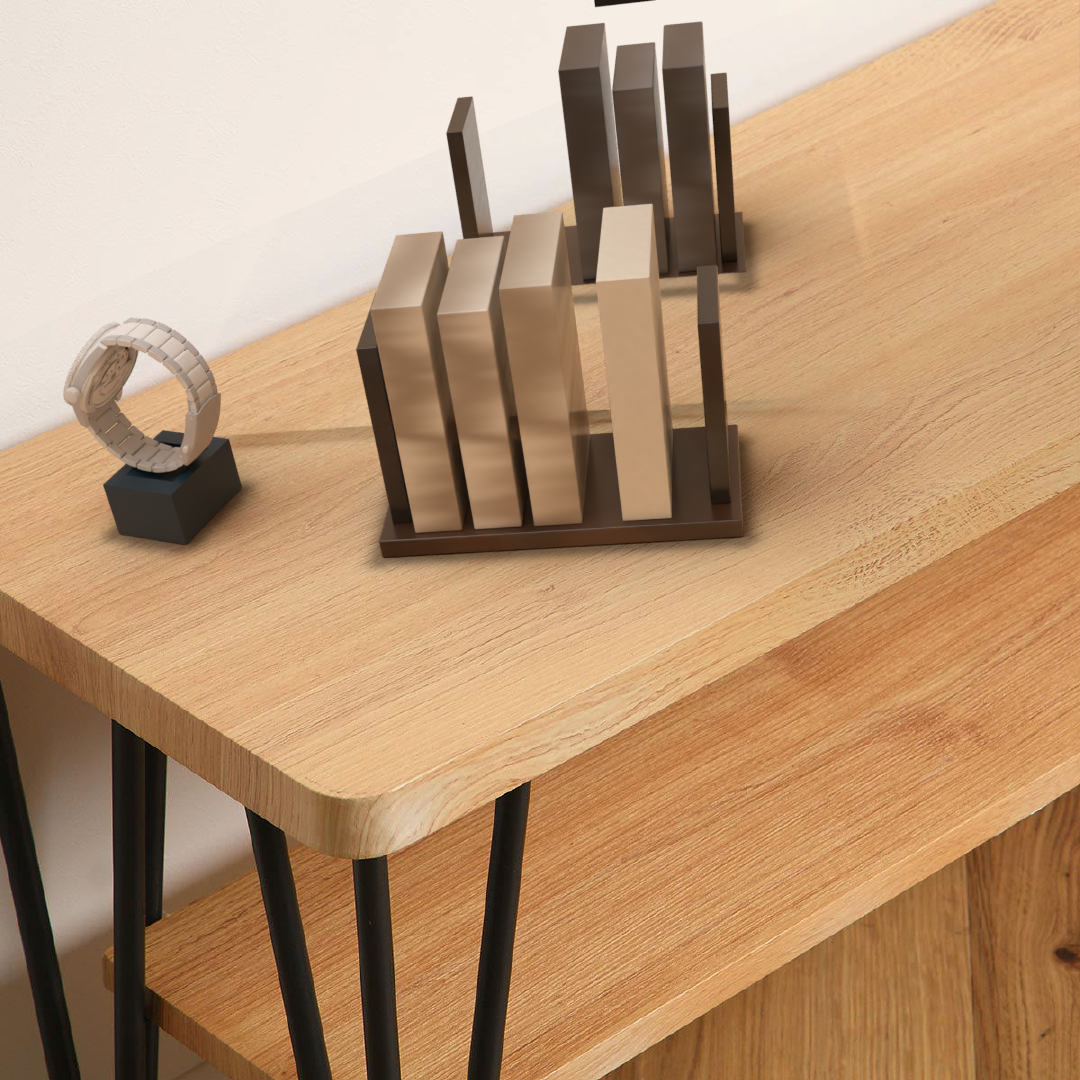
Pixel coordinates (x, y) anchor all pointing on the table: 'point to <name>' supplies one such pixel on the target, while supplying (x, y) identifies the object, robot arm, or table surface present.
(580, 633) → the table surface
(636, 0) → the robot arm
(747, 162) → the table surface
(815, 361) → the table surface
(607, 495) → the brown rack
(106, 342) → the watch
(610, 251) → the beige book
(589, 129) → the grey rack
